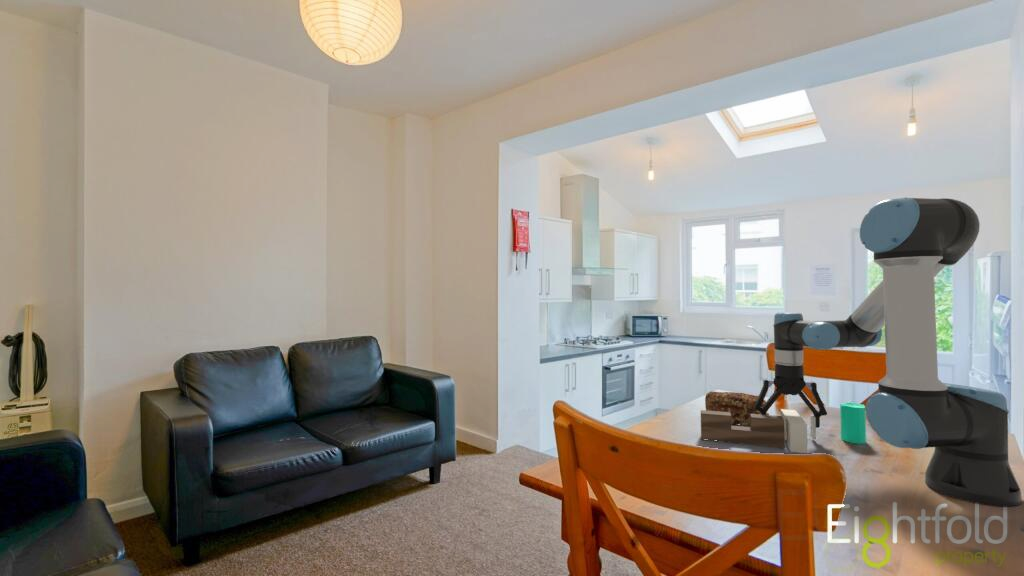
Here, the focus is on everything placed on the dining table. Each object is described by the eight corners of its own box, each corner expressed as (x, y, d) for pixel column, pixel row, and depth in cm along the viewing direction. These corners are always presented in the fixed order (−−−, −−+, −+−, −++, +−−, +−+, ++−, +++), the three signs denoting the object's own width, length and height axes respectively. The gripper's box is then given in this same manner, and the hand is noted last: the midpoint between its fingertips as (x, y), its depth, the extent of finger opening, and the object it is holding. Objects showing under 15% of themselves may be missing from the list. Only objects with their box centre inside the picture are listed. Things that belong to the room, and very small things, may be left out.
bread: (706, 424, 159) (706, 394, 159) (705, 415, 169) (704, 388, 169) (768, 428, 152) (768, 398, 152) (763, 420, 162) (763, 391, 162)
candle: (857, 437, 142) (856, 397, 142) (870, 443, 136) (870, 402, 136) (836, 437, 142) (835, 397, 142) (848, 443, 136) (848, 402, 136)
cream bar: (807, 453, 129) (807, 424, 129) (790, 451, 130) (790, 422, 130) (795, 436, 144) (795, 410, 144) (780, 434, 145) (780, 409, 145)
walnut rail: (784, 447, 133) (784, 419, 133) (701, 439, 141) (700, 413, 141) (782, 443, 137) (781, 416, 137) (701, 436, 145) (700, 410, 145)
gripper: (831, 363, 141) (833, 436, 141) (743, 360, 149) (744, 428, 149) (839, 367, 134) (840, 444, 134) (746, 363, 142) (747, 435, 142)
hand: (790, 436), depth 142 cm, fingers open, 11 cm apart
